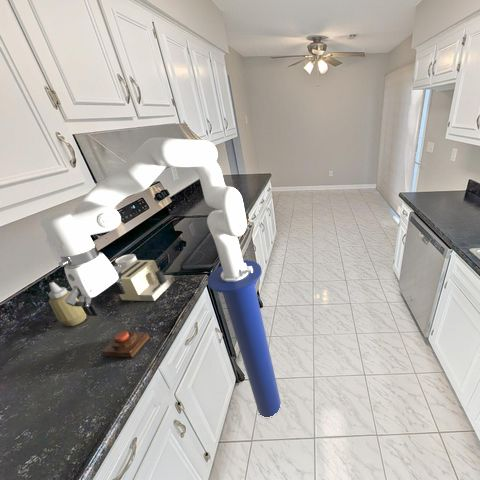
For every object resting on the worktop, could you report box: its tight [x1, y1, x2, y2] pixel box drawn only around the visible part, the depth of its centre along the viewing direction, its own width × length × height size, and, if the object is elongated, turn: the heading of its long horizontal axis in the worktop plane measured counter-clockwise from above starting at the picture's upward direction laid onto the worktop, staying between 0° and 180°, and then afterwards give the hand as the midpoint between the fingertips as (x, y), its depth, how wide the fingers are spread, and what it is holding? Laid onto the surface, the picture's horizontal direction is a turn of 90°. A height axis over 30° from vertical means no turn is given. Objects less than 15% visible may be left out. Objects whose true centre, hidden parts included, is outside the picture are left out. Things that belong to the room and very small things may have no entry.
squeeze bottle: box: [47, 281, 87, 327], centre depth 92 cm, size 8×8×18 cm
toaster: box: [118, 259, 176, 302], centre depth 109 cm, size 15×14×11 cm
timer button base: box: [100, 329, 151, 358], centre depth 83 cm, size 10×8×4 cm
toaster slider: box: [155, 270, 166, 284], centre depth 109 cm, size 3×3×5 cm
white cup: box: [114, 253, 138, 270], centre depth 120 cm, size 8×8×10 cm
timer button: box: [113, 330, 130, 343], centre depth 82 cm, size 4×4×2 cm
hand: (107, 303), depth 78 cm, fingers open, 9 cm apart
